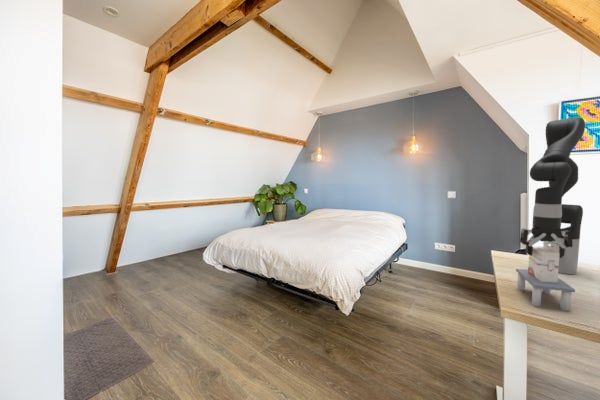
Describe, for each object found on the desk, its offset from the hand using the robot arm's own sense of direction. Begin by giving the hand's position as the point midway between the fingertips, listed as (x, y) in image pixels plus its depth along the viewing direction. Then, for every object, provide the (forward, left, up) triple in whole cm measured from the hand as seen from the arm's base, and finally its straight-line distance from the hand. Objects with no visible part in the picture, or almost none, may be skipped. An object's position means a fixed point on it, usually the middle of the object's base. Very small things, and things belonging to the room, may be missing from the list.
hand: (544, 255), depth 92 cm
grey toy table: (0, 0, -18) cm, 18 cm away
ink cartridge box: (0, 0, -9) cm, 9 cm away
